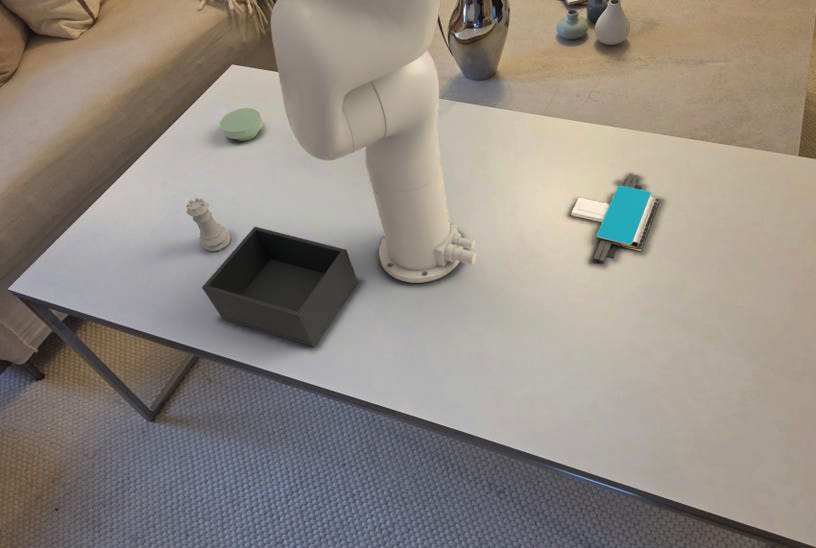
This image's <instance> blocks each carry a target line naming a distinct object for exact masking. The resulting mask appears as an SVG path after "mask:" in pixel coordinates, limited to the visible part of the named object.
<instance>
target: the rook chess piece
mask: <svg viewBox="0 0 816 548" xmlns="http://www.w3.org/2000/svg"><path fill="white" fill-rule="evenodd" d="M188 202H189V203H188ZM188 202H187V203H186V205H185V206H186V214H187V215H188V216H190V217H192V221H193V222H195V223H196V224H197V226H198V229H199V242H200V244H201V245H202V248H203V249H205V250H206V251H210V252H218V251H221V250H223V249H225V248H226V247H228V246H229V244H230V242H231V238H232V237H231V234H230V232H228V229H227V228H226V227H225V226H223V225H221V224H220V223H218V222H217V221H216V220H215V218H214V217H213V216H212V215H213V213H212V211H210V210H209V208H210V205H209V202H207V201H205V200H204V199H203V198H199V197H195V198H194V201H193V199H190V200H188Z"/></svg>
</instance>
